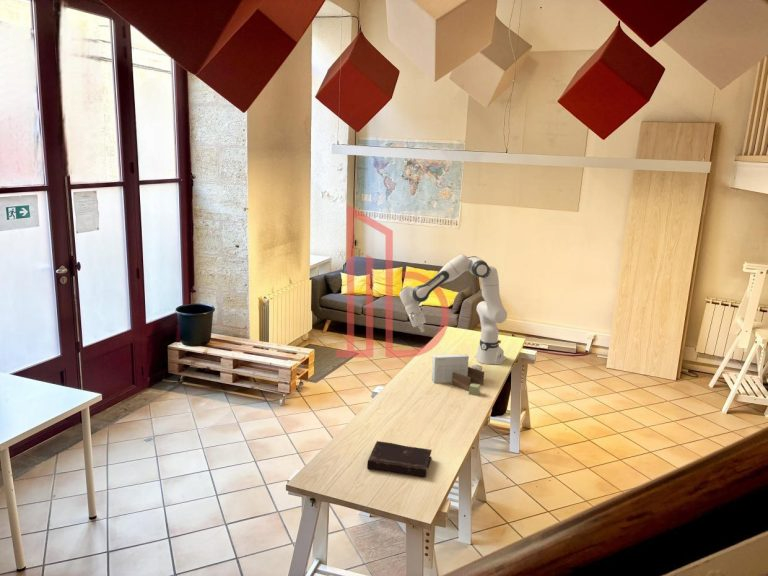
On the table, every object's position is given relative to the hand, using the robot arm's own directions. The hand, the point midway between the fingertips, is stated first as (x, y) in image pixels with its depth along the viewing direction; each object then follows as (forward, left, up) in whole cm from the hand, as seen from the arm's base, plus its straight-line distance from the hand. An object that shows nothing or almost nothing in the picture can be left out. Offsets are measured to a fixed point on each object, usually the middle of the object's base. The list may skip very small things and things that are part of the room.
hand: (423, 331), depth 376 cm
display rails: (+5, +39, -23) cm, 45 cm away
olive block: (+13, +49, -23) cm, 56 cm away
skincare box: (+7, +28, -23) cm, 37 cm away
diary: (+103, +72, -23) cm, 128 cm away
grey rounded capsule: (-7, +37, -23) cm, 44 cm away
